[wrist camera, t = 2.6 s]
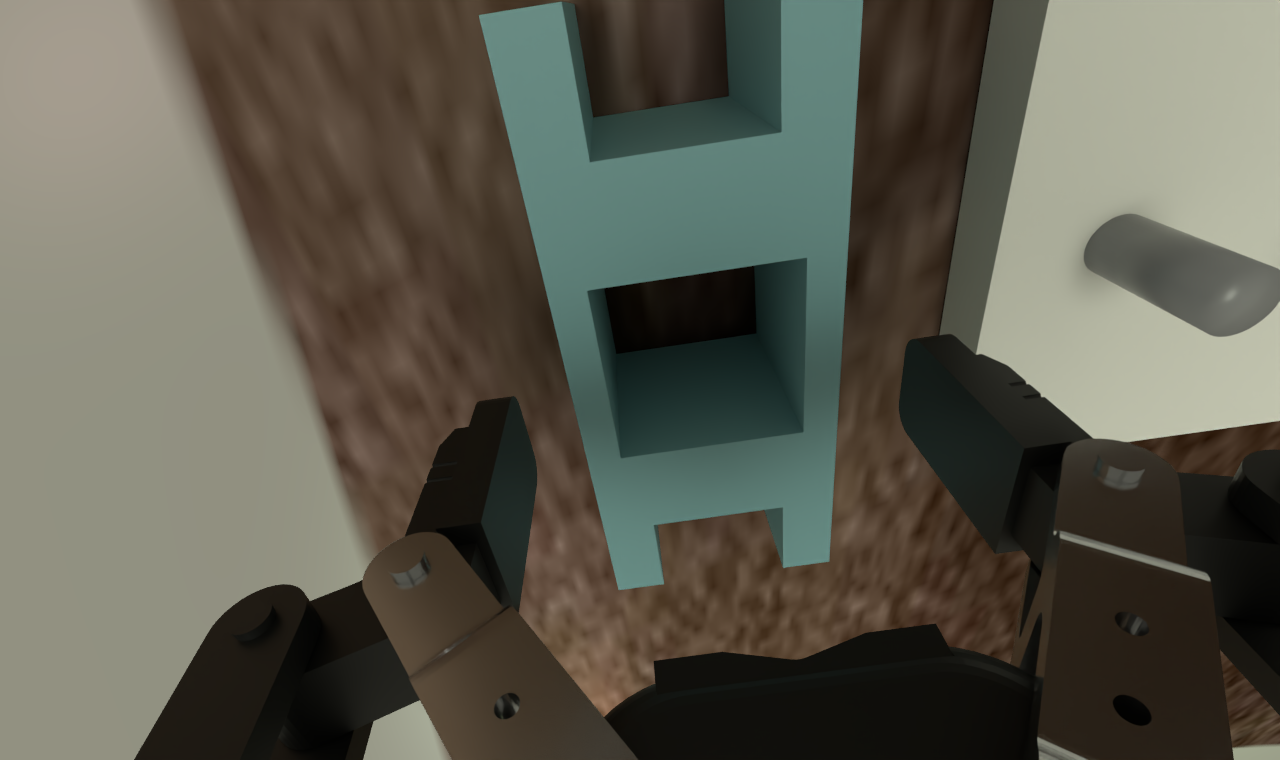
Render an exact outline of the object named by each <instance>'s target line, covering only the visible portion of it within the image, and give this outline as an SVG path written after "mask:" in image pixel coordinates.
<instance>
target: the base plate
mask: <svg viewBox="0 0 1280 760" xmlns="http://www.w3.org/2000/svg"><path fill="white" fill-rule="evenodd" d="M944 334H952V335H954V336H955V337H957V338H958V339H959V340H960V341H961V342H962V343H963V344H964V345H966V346H967V347H968V348H969V349H970V350H971V351H972V352H973V353H975V354H976V355H978V354H983V355H985V356H988V357H990V358H992V359H994V360H997V361H999V362H1001V363H1003V364H1005V365H1008V366H1009V367H1010V368H1011V369H1013V370H1014V371H1015V372H1016V373H1017V374H1018V375H1020V376H1021V377H1022V378H1023V379H1024V380H1025V381H1026V384H1030V385H1031V386H1032V387H1034V388H1035V389H1036V390H1037V391H1038V392H1040V393H1041V397H1045V398H1047V399H1048V400H1049V401H1050V402H1051V403H1052V404H1054V405H1055V406H1056V407H1057V408H1058V409H1059V410H1061V411H1062V412H1063V413H1064V414H1065V415H1066V416H1068V417H1069V418H1070V419H1071V420H1072V421H1074V422H1075V423H1076V424H1077V425H1078V426H1079V427H1081V428H1082V429H1083V430H1084V431H1085V432H1086V433H1088V434H1089V435H1090V436H1091V437H1092V438H1093V439H1111V440H1117V441H1122V442H1130V441H1138V440H1145V439H1152V438H1159V437H1166V436H1173V435H1181V434H1188V433H1195V432H1202V431H1209V430H1216V429H1224V428H1231V427H1238V426H1245V425H1252V424H1259V423H1267V422H1274V421H1280V0H994V3H993V9H992V15H991V21H990V27H989V33H988V40H987V46H986V52H985V58H984V64H983V70H982V76H981V82H980V89H979V95H978V101H977V107H976V113H975V119H974V125H973V131H972V138H971V144H970V150H969V156H968V162H967V168H966V174H965V181H964V187H963V193H962V199H961V205H960V211H959V217H958V223H957V230H956V236H955V242H954V248H953V254H952V260H951V266H950V272H949V279H948V285H947V291H946V297H945V303H944V309H943V315H942V321H941V328H940V334H939V335H944Z"/></svg>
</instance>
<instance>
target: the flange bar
mask: <svg viewBox="0 0 1280 760" xmlns="http://www.w3.org/2000/svg"><path fill="white" fill-rule="evenodd" d="M724 5H725V26H726V47H727V67H728V88H729V96H727V97H721V98H714V99H708V100H702V101H695V102H689V103H683V104H676V105H670V106H664V107H657V108H651V109H645V110H638V111H632V112H626V113H619V114H613V115H607V116H600V117H594V118H593V113H592V107H591V101H590V95H589V89H588V83H587V77H586V71H585V65H584V59H583V53H582V47H581V41H580V35H579V29H578V23H577V17H576V11H575V5H574V4H572V3H567V2H556V3H550V4H544V5H538V6H532V7H526V8H520V9H514V10H507V11H501V12H495V13H489V14H483V15H479V18H480V22H481V26H482V30H483V34H484V38H485V42H486V47H487V51H488V55H489V59H490V63H491V67H492V71H493V75H494V79H495V84H496V88H497V92H498V96H499V100H500V104H501V108H502V112H503V116H504V121H505V125H506V129H507V133H508V137H509V141H510V145H511V149H512V153H513V157H514V162H515V166H516V170H517V174H518V178H519V182H520V186H521V190H522V194H523V199H524V203H525V207H526V211H527V215H528V219H529V223H530V227H531V231H532V236H533V240H534V244H535V248H536V252H537V256H538V260H539V264H540V268H541V272H542V277H543V281H544V285H545V289H546V293H547V297H548V301H549V305H550V309H551V314H552V318H553V322H554V326H555V330H556V334H557V338H558V342H559V346H560V351H561V355H562V359H563V363H564V367H565V371H566V375H567V379H568V383H569V387H570V392H571V396H572V400H573V404H574V408H575V412H576V416H577V420H578V424H579V429H580V433H581V437H582V441H583V445H584V449H585V453H586V457H587V461H588V466H589V470H590V474H591V478H592V482H593V486H594V490H595V494H596V498H597V502H598V507H599V511H600V515H601V519H602V523H603V527H604V531H605V535H606V539H607V544H608V548H609V552H610V556H611V560H612V564H613V568H614V572H615V576H616V581H617V585H618V589H619V590H623V589H630V588H638V587H645V586H653V585H660V584H664V579H663V570H662V561H661V551H660V542H659V533H658V524H665V523H673V522H680V521H687V520H694V519H701V518H709V517H716V516H723V515H730V514H737V513H745V512H752V511H759V510H765V513H766V516H767V520H768V523H769V526H770V529H771V532H772V535H773V538H774V541H775V544H776V547H777V550H778V553H779V556H780V560H781V563H782V566H783V568H785V567H792V566H800V565H807V564H814V563H822V562H829V554H830V538H831V521H832V505H833V488H834V472H835V455H836V439H837V422H838V406H839V389H840V373H841V356H842V340H843V323H844V307H845V290H846V274H847V257H848V241H849V224H850V208H851V191H852V175H853V158H854V142H855V125H856V109H857V92H858V76H859V59H860V43H861V26H862V10H863V0H724ZM748 266H754V270H755V303H756V334H750V335H743V336H736V337H729V338H723V339H716V340H709V341H702V342H695V343H689V344H682V345H675V346H668V347H661V348H655V349H648V350H641V351H634V352H627V353H620V354H616V350H615V344H614V339H613V333H612V328H611V323H610V317H609V312H608V306H607V301H606V295H605V290H604V288H608V287H615V286H622V285H628V284H635V283H642V282H648V281H655V280H662V279H668V278H675V277H682V276H688V275H695V274H702V273H708V272H715V271H722V270H728V269H735V268H742V267H748Z"/></svg>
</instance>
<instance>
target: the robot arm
mask: <svg viewBox="0 0 1280 760" xmlns="http://www.w3.org/2000/svg"><path fill="white" fill-rule="evenodd" d="M899 413H900V418H901V422H902V425H903V427H904V430H905V431H906V433H907V435H908V436H909V437H910V439H911V440H912V441H913V443H914V444H915V445H916V447H917V448H918V449H919V451H920V452H921V454H922V455H923V456H924V458H925V459H926V460H927V462H928V463H929V464H930V466H931V467H932V468H933V470H934V471H935V473H936V474H937V475H938V477H939V478H940V479H941V481H942V482H943V483H944V485H945V486H946V488H947V489H948V490H949V492H950V493H951V494H952V496H953V497H954V498H955V500H956V501H957V502H958V504H959V505H960V507H961V508H962V509H963V511H964V512H965V513H966V515H967V516H968V517H969V519H970V520H971V522H972V523H973V524H974V526H975V527H976V528H977V530H978V531H979V532H980V534H981V535H982V536H983V538H984V539H985V541H986V542H987V543H988V545H989V546H990V547H991V549H992V550H993V551H994V553H995V554H998V553H1005V552H1012V551H1020V550H1024V551H1025V553H1026V554H1027V555H1028V557H1029V558H1030V560H1029V563H1028V566H1027V569H1026V573H1025V579H1024V585H1023V591H1022V598H1021V604H1020V610H1019V616H1018V622H1017V628H1016V634H1015V641H1014V647H1013V653H1012V658H1011V662H1010V664H1009V663H1006V662H1004V661H1001V660H999V659H997V658H994V657H991V656H988V655H984V654H981V653H978V652H975V651H970V650H965V649H961V648H956V647H948V645H947V643H946V641H945V640H944V638H943V636H942V634H941V632H940V630H939V629H938V627H937V625H936V624H929V625H922V626H914V627H907V628H899V629H891V630H884V631H876V632H869V633H864V634H862V635H860V636H857V637H855V638H852V639H850V640H848V641H845V642H843V643H840V644H838V645H836V646H833V647H831V648H828V649H826V650H823V651H821V652H819V653H816V654H814V655H811V656H809V657H807V658H803V659H798V660H790V659H781V658H772V657H763V656H754V655H745V654H736V653H727V652H718V653H711V654H703V655H696V656H688V657H681V658H673V659H666V660H658V661H654V670H655V683H656V684H653V685H651V686H649V687H646V688H644V689H642V690H640V691H639V692H637V693H635V694H633V695H632V696H630V697H628V698H627V699H625V700H624V701H623V702H621V703H620V704H619V705H617V706H616V707H615V708H613V709H612V710H611V711H610V712H609V713H608V714H607V715H606V716H605V717H603V716H602V715H601V713H600V712H599V711H598V710H597V708H596V707H595V706H594V705H593V704H592V702H591V701H590V700H589V699H588V697H587V696H586V695H585V694H584V693H583V691H582V690H581V689H580V688H579V686H578V685H577V684H576V683H575V682H574V680H573V679H572V678H571V677H570V675H569V674H568V673H567V672H566V671H565V669H564V668H563V667H562V666H561V664H560V663H559V662H558V661H557V660H556V658H555V657H554V656H553V655H552V653H551V652H550V651H549V650H548V649H547V647H546V646H545V645H544V644H543V642H542V641H541V640H540V639H539V638H538V636H537V635H536V634H535V633H534V631H533V630H532V629H531V628H530V627H529V625H528V624H527V623H526V622H525V620H524V619H523V618H522V617H521V616H520V614H519V607H520V599H521V592H522V585H523V578H524V571H525V564H526V557H527V550H528V543H529V536H530V529H531V522H532V515H533V508H534V501H535V494H536V487H537V467H536V461H535V456H534V452H533V449H532V445H531V442H530V439H529V436H528V432H527V429H526V426H525V422H524V419H523V416H522V412H521V409H520V406H519V403H518V401H517V399H516V398H515V397H514V396H512V397H505V398H498V399H491V400H484V401H479V402H477V404H476V406H475V409H474V413H473V416H472V419H471V422H470V425H469V427H465V428H458V429H455V430H454V431H453V432H452V433H451V434H450V435H449V436H448V437H447V439H446V440H445V441H444V442H443V443H442V444H441V445H440V446H439V448H438V451H437V454H436V456H435V459H434V461H433V464H432V465H433V468H431V469H430V472H429V475H428V477H427V483H426V484H425V485H424V488H423V490H422V493H421V495H420V498H419V501H418V503H417V506H416V508H415V511H414V514H413V516H412V519H411V521H410V524H409V527H408V529H407V532H406V534H405V537H403V538H401V539H399V540H397V541H395V542H393V543H391V544H390V545H388V546H387V547H386V548H384V549H383V550H382V551H381V552H379V553H378V554H377V555H376V556H375V558H374V559H373V560H372V561H371V563H370V564H369V566H368V567H367V569H366V571H365V574H364V576H363V580H362V581H360V582H357V583H355V584H353V585H350V586H348V587H345V588H343V589H340V590H338V591H335V592H332V593H330V594H327V595H325V596H322V597H320V598H317V599H314V600H312V601H309V599H308V598H307V596H306V595H305V593H304V592H303V591H302V590H301V589H300V588H298V587H296V586H293V585H284V584H283V585H275V586H271V587H267V588H264V589H262V590H259V591H257V592H255V593H253V594H251V595H249V596H247V597H245V598H244V599H242V600H240V601H239V602H238V603H236V604H235V605H233V606H232V607H231V608H230V609H229V610H227V611H226V612H225V613H224V614H223V615H222V616H221V617H220V618H219V619H218V620H217V621H216V623H215V624H214V625H213V626H212V628H211V629H210V631H209V633H208V634H207V636H206V637H205V639H204V641H203V643H202V644H201V646H200V648H199V649H198V651H197V653H196V655H195V656H194V658H193V660H192V661H191V663H190V665H189V667H188V668H187V670H186V672H185V673H184V675H183V677H182V679H181V680H180V682H179V684H178V685H177V687H176V689H175V691H174V693H173V694H172V696H171V697H170V699H169V701H168V703H167V705H166V706H165V708H164V710H163V711H162V713H161V715H160V716H159V718H158V720H157V721H156V723H155V725H154V727H153V728H152V730H151V732H150V733H149V735H148V737H147V739H146V740H145V742H144V744H143V746H142V747H141V749H140V751H139V752H138V754H137V756H136V758H135V759H134V760H363V758H364V754H365V750H366V746H367V743H368V739H369V735H370V732H371V728H372V724H373V721H375V720H377V719H379V718H381V717H383V716H386V715H388V714H390V713H392V712H394V711H397V710H399V709H401V708H403V707H405V706H408V705H410V704H412V703H414V702H416V701H419V700H420V701H421V703H422V704H423V706H424V708H425V710H426V712H427V714H428V716H429V718H430V720H431V721H432V723H433V725H434V727H435V729H436V731H437V733H438V735H439V736H440V738H441V740H442V742H443V744H444V746H445V748H446V749H447V751H448V753H449V755H450V757H451V759H452V760H1234V758H1233V750H1232V742H1231V734H1230V726H1229V719H1228V711H1227V703H1226V695H1225V687H1224V679H1223V671H1222V663H1221V656H1220V650H1221V651H1222V652H1223V653H1224V654H1225V655H1226V657H1227V658H1228V659H1229V660H1230V661H1231V662H1232V663H1233V664H1234V665H1235V667H1236V668H1237V669H1238V670H1239V671H1240V672H1241V673H1242V674H1243V675H1244V676H1245V678H1246V679H1247V680H1248V681H1249V682H1250V683H1251V684H1252V685H1253V686H1254V688H1255V689H1256V690H1257V691H1258V692H1259V693H1260V694H1261V695H1262V696H1263V697H1264V699H1265V700H1266V701H1267V702H1268V703H1269V704H1270V705H1271V706H1272V707H1273V708H1274V710H1275V711H1276V712H1277V713H1278V714H1279V715H1280V450H1263V451H1257V452H1254V453H1251V454H1249V455H1248V456H1246V457H1245V458H1244V460H1243V461H1242V463H1241V465H1240V467H1239V468H1238V470H1237V472H1236V474H1235V476H1234V477H1230V476H1217V475H1204V474H1190V473H1178V472H1176V471H1175V470H1174V468H1173V467H1172V466H1171V465H1170V464H1169V463H1168V462H1166V461H1165V460H1164V459H1162V458H1161V457H1159V456H1158V455H1156V454H1154V453H1152V452H1150V451H1149V450H1146V449H1144V448H1142V447H1139V446H1136V445H1133V444H1130V443H1126V442H1122V441H1117V440H1111V439H1093V438H1092V437H1091V436H1090V435H1089V434H1088V433H1086V432H1085V431H1084V430H1083V429H1082V428H1081V427H1079V426H1078V425H1077V424H1076V423H1075V422H1074V421H1072V420H1071V419H1070V418H1069V417H1068V416H1066V415H1065V414H1064V413H1063V412H1062V411H1061V410H1059V409H1058V408H1057V407H1056V406H1055V405H1054V404H1052V403H1051V402H1050V401H1049V400H1048V399H1047V398H1045V397H1041V393H1040V392H1038V391H1037V390H1036V389H1035V388H1034V387H1032V386H1031V385H1030V384H1026V381H1025V380H1024V379H1023V378H1022V377H1021V376H1020V375H1018V374H1017V373H1016V372H1015V371H1014V370H1013V369H1011V368H1010V367H1009V366H1008V365H1005V364H1003V363H1001V362H999V361H997V360H994V359H992V358H990V357H988V356H985V355H983V354H978V355H976V354H975V353H973V352H972V351H971V350H970V349H969V348H968V347H967V346H966V345H964V344H963V343H962V342H961V341H960V340H959V339H958V338H957V337H955V336H954V335H952V334H944V335H938V336H931V337H924V338H917V339H912V340H910V341H909V342H908V344H907V346H906V351H905V358H904V367H903V375H902V383H901V391H900V400H899Z"/></svg>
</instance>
